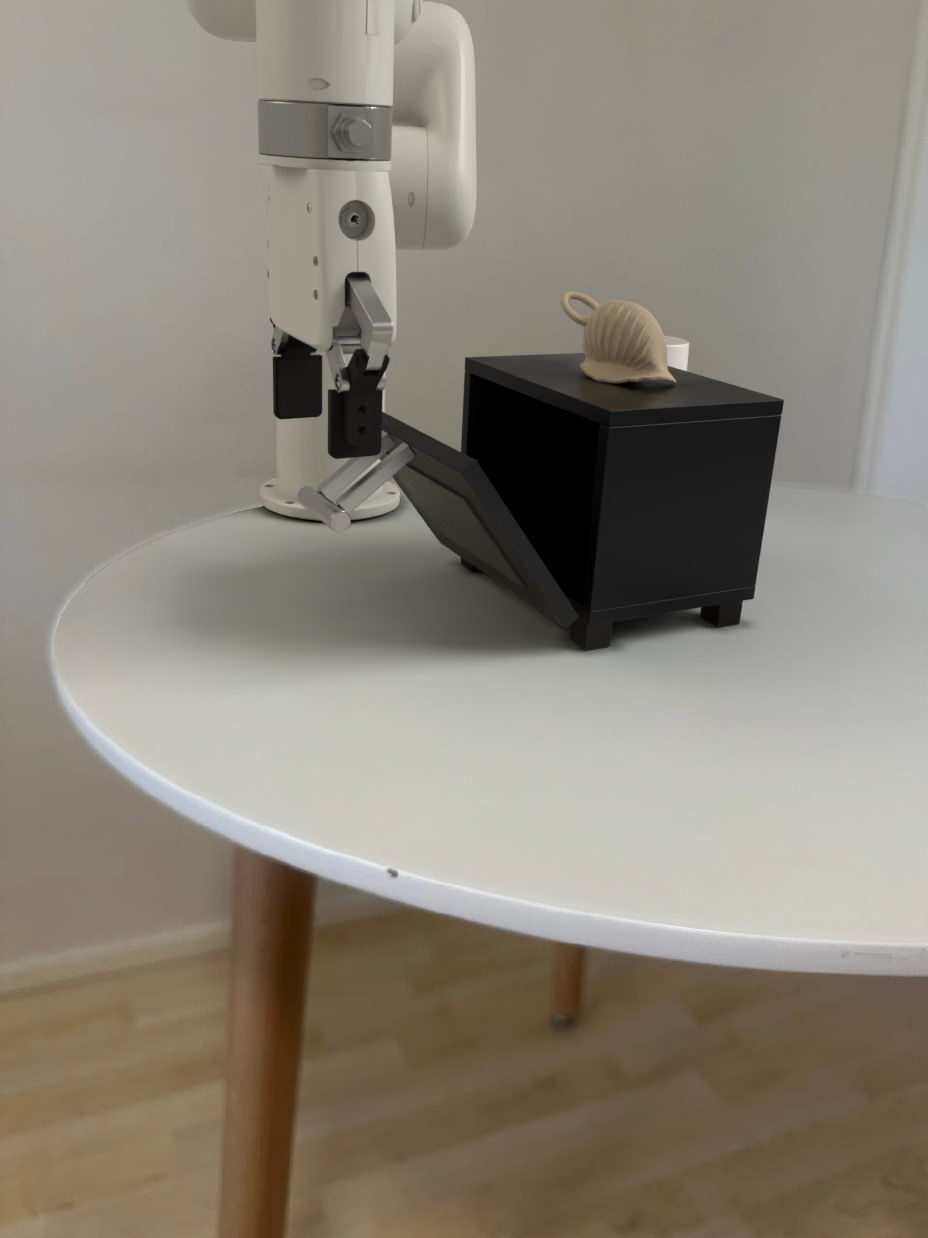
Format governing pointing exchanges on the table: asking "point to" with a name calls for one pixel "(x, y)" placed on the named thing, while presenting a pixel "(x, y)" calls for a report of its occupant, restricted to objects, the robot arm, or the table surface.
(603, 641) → the oven
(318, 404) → the robot arm
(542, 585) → the oven door
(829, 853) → the table surface
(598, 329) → the decorative ornament
